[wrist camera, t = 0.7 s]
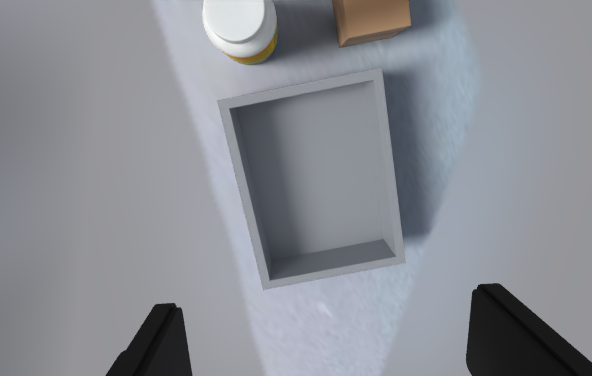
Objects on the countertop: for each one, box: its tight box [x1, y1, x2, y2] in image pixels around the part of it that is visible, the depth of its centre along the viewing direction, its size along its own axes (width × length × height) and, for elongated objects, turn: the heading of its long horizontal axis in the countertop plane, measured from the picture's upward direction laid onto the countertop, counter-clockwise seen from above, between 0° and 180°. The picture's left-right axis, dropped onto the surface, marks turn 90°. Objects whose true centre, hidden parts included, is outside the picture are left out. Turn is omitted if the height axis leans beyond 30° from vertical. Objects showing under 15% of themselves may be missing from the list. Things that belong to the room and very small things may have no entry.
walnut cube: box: [332, 0, 411, 48], centre depth 29 cm, size 5×5×5 cm
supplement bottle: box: [203, 0, 278, 65], centre depth 26 cm, size 5×5×10 cm
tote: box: [217, 68, 406, 290], centre depth 32 cm, size 18×14×5 cm
